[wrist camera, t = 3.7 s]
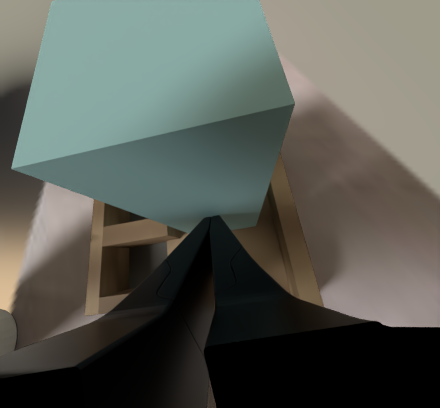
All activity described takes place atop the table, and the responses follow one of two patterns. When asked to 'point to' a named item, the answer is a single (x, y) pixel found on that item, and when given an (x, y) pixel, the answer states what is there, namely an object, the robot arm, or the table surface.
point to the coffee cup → (7, 332)
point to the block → (158, 108)
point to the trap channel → (170, 238)
